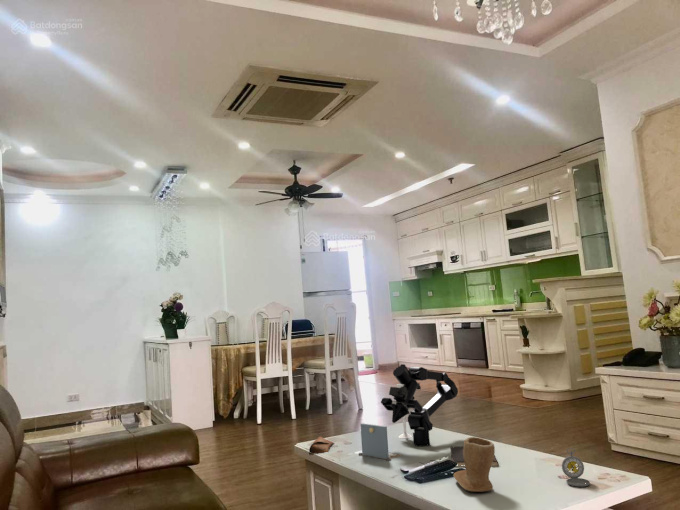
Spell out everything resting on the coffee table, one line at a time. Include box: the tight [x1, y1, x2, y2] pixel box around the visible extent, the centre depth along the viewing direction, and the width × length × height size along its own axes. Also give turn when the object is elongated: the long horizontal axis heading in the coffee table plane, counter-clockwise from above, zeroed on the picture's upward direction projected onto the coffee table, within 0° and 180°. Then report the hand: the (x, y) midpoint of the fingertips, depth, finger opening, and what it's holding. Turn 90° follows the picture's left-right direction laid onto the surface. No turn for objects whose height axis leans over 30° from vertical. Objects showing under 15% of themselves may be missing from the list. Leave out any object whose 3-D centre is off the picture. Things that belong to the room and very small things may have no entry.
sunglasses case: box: [308, 436, 335, 454], centre depth 227 cm, size 18×7×7 cm, turn 173°
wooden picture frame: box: [358, 452, 403, 462], centre depth 205 cm, size 10×16×2 cm, turn 44°
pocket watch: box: [561, 447, 591, 488], centre depth 161 cm, size 8×8×10 cm
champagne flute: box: [396, 383, 413, 439], centre depth 241 cm, size 7×7×24 cm
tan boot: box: [453, 436, 496, 493], centre depth 164 cm, size 15×12×15 cm
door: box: [360, 422, 390, 460], centre depth 203 cm, size 2×13×12 cm, turn 44°
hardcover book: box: [450, 445, 499, 467], centre depth 197 cm, size 16×23×2 cm
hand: (393, 422), depth 212 cm, fingers closed
